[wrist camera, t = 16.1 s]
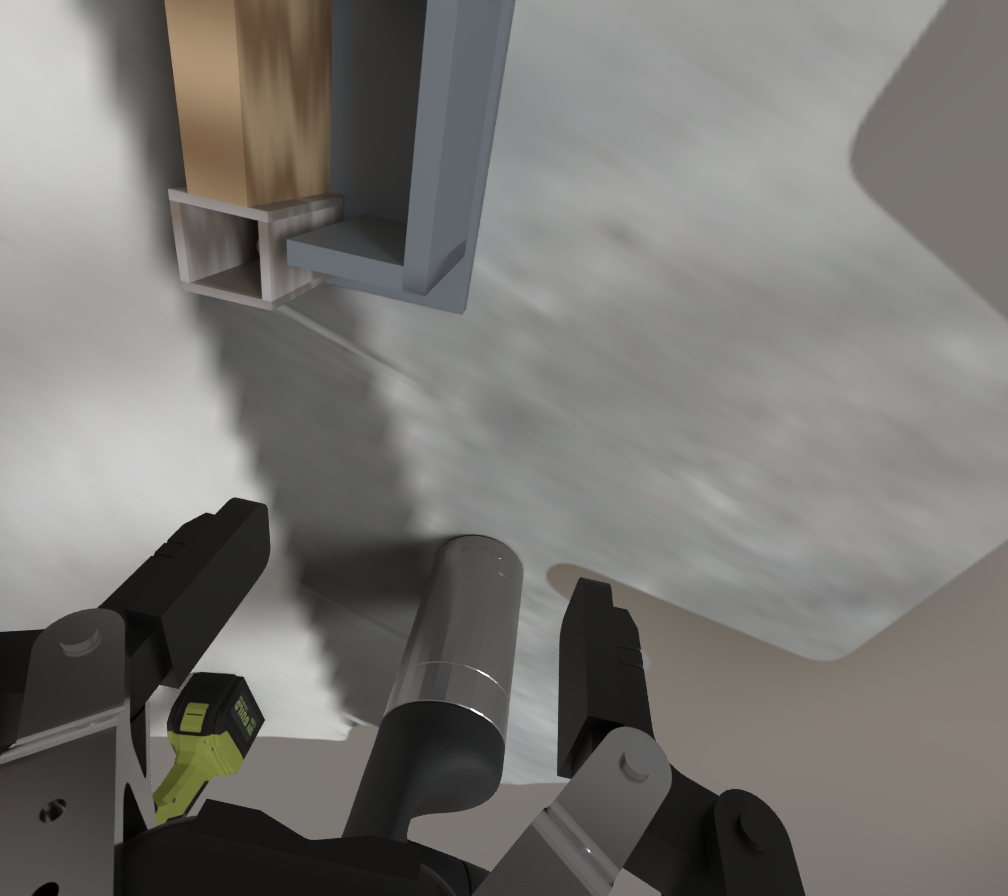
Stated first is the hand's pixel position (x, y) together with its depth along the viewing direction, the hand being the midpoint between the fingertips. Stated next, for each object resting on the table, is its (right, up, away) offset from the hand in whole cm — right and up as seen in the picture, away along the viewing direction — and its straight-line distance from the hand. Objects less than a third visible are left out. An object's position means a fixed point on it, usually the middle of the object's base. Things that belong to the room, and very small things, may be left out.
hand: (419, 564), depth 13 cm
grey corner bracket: (-6, +24, +20) cm, 31 cm away
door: (-10, +24, +18) cm, 32 cm away
